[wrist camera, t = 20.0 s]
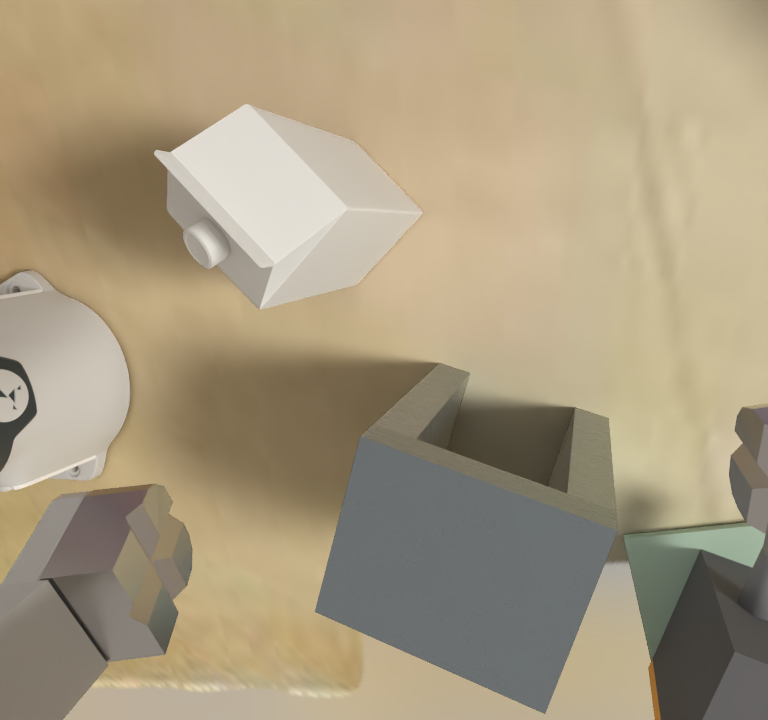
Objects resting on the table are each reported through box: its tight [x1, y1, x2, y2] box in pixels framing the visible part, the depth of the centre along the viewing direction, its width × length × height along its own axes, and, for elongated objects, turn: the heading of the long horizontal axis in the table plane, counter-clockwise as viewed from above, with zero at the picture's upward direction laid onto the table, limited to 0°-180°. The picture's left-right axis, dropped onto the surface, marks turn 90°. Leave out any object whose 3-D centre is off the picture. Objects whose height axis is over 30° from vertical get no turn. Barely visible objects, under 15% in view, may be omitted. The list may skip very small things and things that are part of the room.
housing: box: [315, 363, 618, 714], centre depth 38 cm, size 10×12×17 cm
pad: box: [624, 522, 765, 661], centre depth 43 cm, size 10×10×1 cm
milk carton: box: [154, 104, 423, 310], centre depth 37 cm, size 7×7×19 cm
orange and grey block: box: [649, 547, 768, 720], centre depth 38 cm, size 14×4×11 cm, turn 165°
